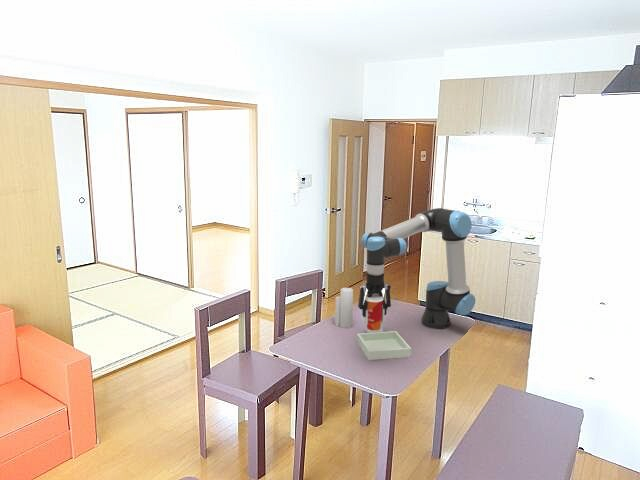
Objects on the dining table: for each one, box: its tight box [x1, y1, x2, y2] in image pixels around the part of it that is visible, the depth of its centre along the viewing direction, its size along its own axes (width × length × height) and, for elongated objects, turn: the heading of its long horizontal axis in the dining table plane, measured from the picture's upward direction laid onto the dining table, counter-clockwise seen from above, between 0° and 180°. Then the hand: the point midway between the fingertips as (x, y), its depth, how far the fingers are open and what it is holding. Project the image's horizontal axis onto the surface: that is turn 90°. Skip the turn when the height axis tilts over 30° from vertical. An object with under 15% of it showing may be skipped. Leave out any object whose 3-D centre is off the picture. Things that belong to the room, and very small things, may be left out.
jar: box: [365, 322, 384, 333], centre depth 241 cm, size 9×8×12 cm
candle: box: [334, 287, 354, 329], centre depth 249 cm, size 11×7×20 cm, turn 48°
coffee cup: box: [364, 294, 385, 330], centre depth 208 cm, size 8×8×15 cm
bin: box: [356, 330, 412, 361], centre depth 223 cm, size 20×20×4 cm
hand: (374, 322), depth 209 cm, fingers closed on coffee cup, 7 cm apart
